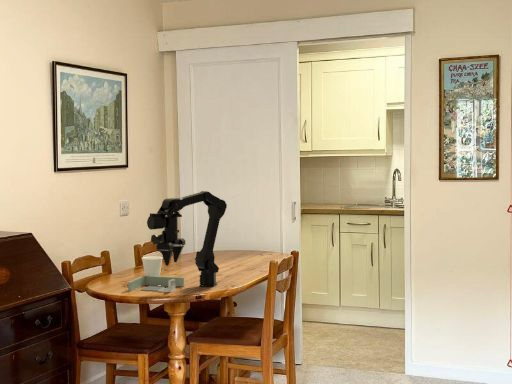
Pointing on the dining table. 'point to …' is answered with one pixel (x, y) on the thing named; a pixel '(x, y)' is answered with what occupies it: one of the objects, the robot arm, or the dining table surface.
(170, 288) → the bracket
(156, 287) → the pad
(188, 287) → the dining table surface
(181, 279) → the corner frame
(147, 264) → the cup
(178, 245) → the robot arm
